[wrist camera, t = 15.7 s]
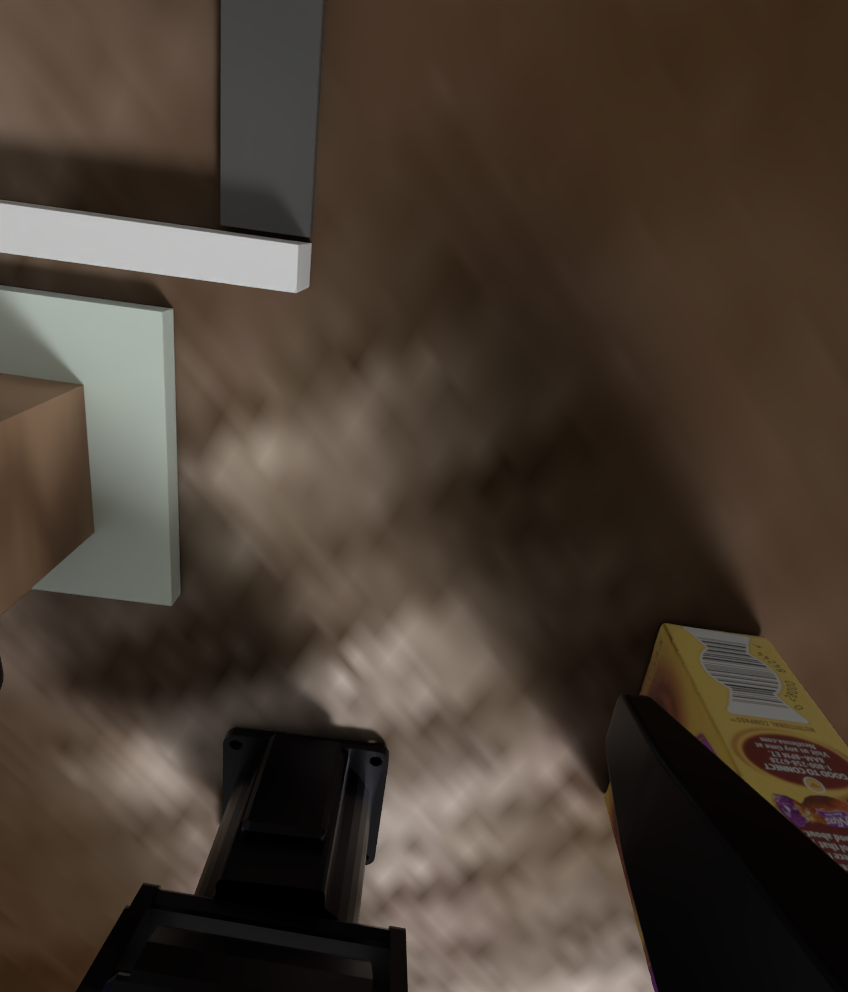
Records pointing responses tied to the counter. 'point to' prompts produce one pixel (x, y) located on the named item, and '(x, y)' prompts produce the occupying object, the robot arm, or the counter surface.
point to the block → (41, 480)
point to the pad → (110, 433)
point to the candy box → (752, 729)
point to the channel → (244, 169)
